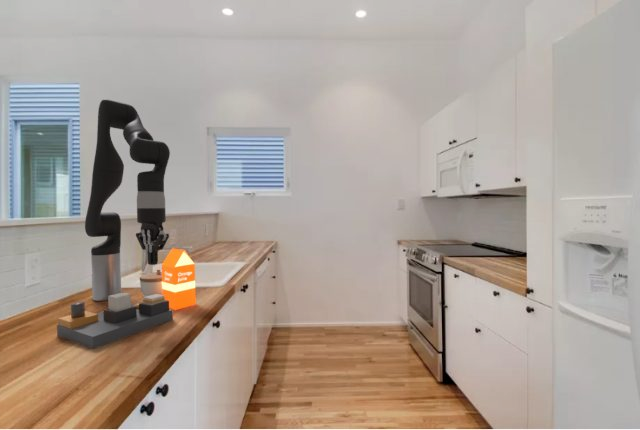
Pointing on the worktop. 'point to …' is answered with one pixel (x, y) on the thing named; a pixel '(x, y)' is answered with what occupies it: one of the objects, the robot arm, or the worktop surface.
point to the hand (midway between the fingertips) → (152, 264)
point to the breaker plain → (119, 302)
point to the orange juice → (178, 279)
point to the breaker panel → (117, 324)
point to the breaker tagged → (153, 299)
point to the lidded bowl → (151, 283)
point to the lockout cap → (77, 316)
